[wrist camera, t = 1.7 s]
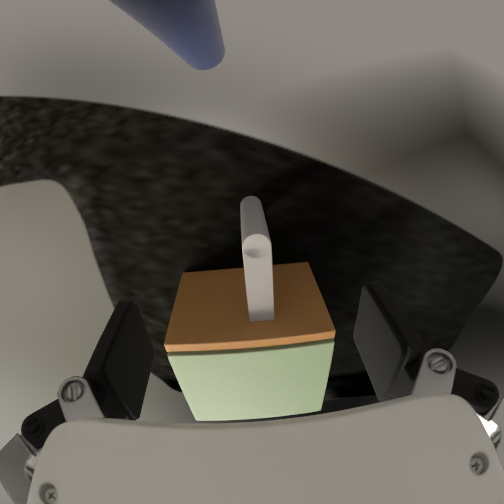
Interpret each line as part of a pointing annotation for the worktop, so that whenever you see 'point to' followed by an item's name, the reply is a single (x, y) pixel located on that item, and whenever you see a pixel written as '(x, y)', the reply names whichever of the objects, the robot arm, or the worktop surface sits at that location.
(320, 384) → the cupboard
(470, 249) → the worktop surface
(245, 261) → the door
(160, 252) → the worktop surface
